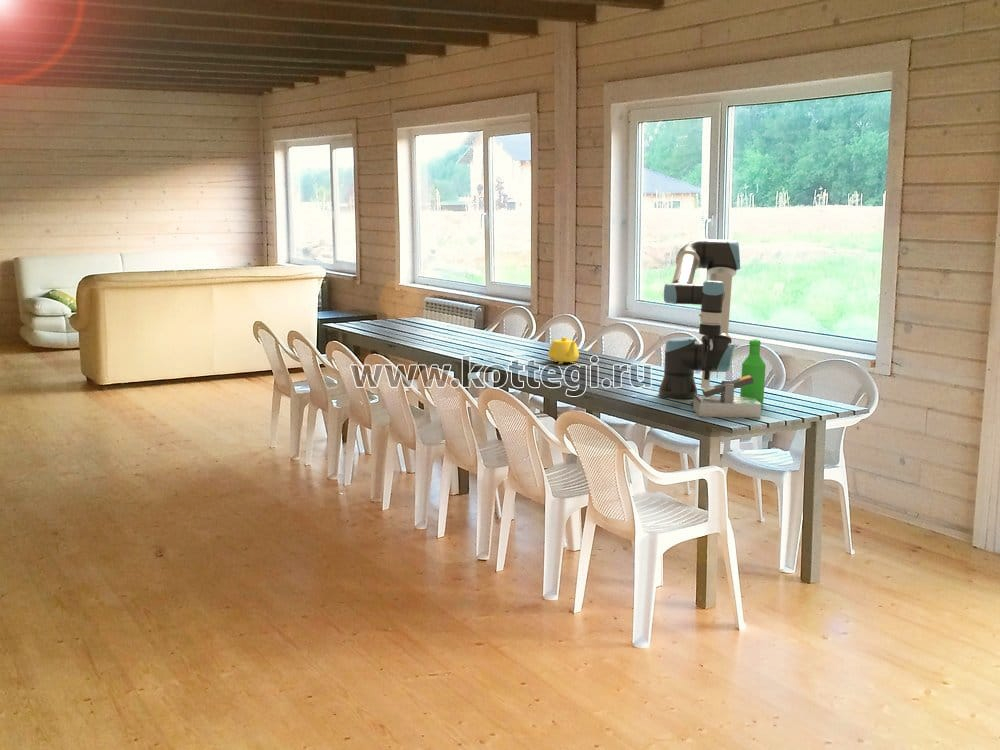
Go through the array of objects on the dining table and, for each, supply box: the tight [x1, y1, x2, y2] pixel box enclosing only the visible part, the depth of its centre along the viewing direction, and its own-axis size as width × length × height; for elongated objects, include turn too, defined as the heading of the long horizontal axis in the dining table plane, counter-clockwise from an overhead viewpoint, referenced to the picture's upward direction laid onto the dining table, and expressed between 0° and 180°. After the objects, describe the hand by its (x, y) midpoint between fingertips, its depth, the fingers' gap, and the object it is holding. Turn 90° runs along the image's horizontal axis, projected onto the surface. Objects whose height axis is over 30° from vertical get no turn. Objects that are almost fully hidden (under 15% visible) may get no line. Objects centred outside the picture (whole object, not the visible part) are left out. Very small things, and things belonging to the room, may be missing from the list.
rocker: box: [701, 375, 754, 397], centre depth 369 cm, size 6×18×2 cm, turn 88°
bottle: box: [739, 339, 767, 406], centre depth 386 cm, size 9×9×25 cm
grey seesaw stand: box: [692, 380, 762, 419], centre depth 370 cm, size 14×22×11 cm, turn 88°
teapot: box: [548, 336, 580, 364], centre depth 481 cm, size 13×20×12 cm
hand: (705, 387), depth 369 cm, fingers closed
